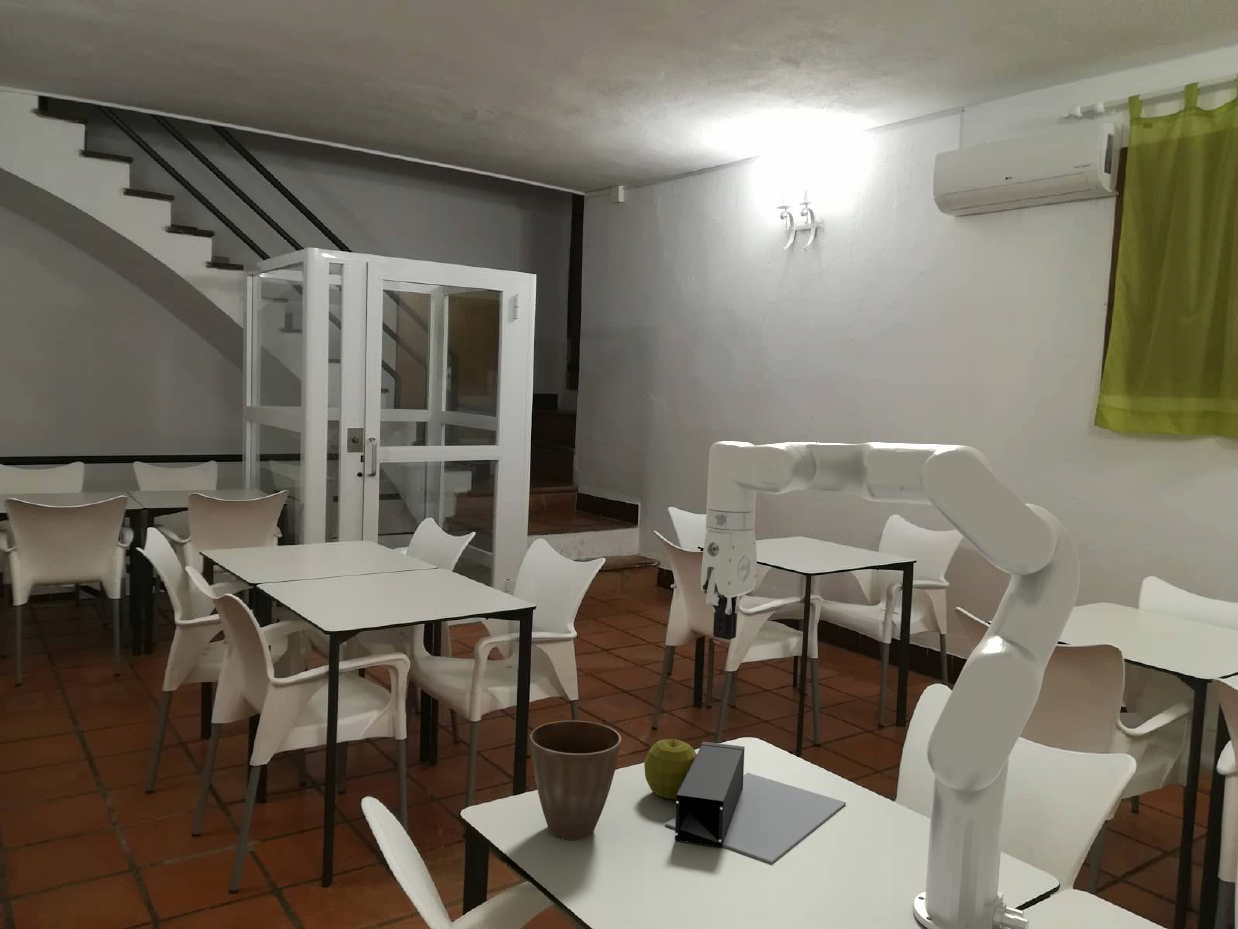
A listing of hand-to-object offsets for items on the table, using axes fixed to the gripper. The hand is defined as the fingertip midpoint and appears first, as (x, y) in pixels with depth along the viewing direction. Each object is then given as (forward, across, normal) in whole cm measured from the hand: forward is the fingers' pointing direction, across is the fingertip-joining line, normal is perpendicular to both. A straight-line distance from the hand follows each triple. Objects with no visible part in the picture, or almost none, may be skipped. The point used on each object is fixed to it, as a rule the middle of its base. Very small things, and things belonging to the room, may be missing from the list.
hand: (724, 637), depth 151 cm
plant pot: (+35, -9, +22) cm, 42 cm away
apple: (+35, +14, +17) cm, 42 cm away
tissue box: (+31, 0, +3) cm, 31 cm away
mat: (+35, +17, +1) cm, 39 cm away
